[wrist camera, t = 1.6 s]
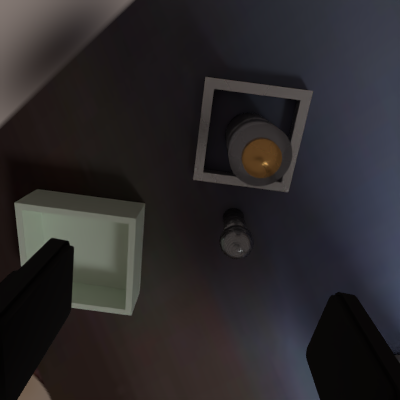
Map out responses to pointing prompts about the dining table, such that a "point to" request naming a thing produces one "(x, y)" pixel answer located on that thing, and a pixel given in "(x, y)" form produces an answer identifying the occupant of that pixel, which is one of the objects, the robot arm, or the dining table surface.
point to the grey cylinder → (257, 149)
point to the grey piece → (233, 218)
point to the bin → (88, 244)
